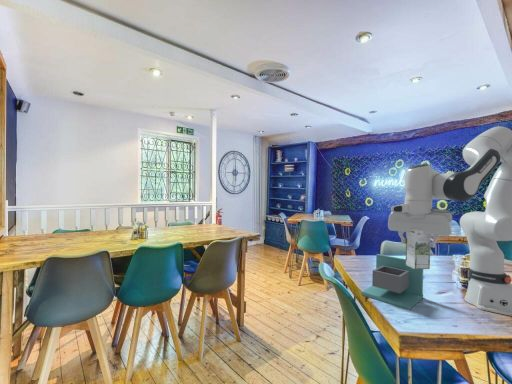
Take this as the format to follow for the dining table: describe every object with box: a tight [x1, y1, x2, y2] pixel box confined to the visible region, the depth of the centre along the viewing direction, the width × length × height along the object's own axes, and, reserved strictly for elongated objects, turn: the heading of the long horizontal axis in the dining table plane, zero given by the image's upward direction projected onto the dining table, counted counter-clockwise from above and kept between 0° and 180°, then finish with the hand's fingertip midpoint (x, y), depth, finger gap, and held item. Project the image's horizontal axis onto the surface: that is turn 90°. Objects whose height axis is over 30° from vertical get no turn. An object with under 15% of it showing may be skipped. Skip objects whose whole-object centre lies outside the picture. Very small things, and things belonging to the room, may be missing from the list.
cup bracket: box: [361, 253, 424, 311], centre depth 120 cm, size 20×18×16 cm
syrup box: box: [405, 229, 431, 270], centre depth 99 cm, size 6×6×14 cm
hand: (417, 245), depth 99 cm, fingers closed on syrup box, 8 cm apart
